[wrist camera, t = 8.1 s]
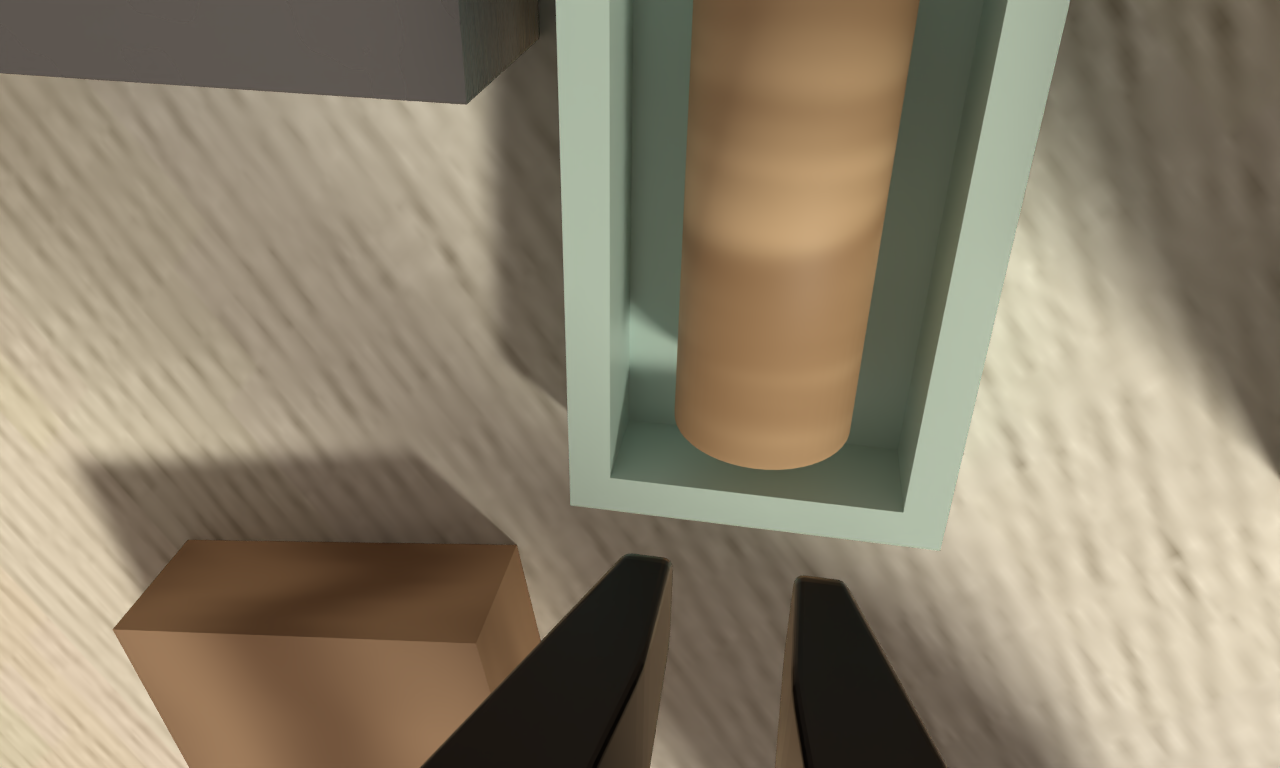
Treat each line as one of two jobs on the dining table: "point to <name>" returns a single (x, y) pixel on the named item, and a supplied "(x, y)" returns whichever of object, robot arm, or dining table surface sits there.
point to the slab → (326, 648)
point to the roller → (784, 219)
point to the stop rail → (274, 44)
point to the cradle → (903, 286)
